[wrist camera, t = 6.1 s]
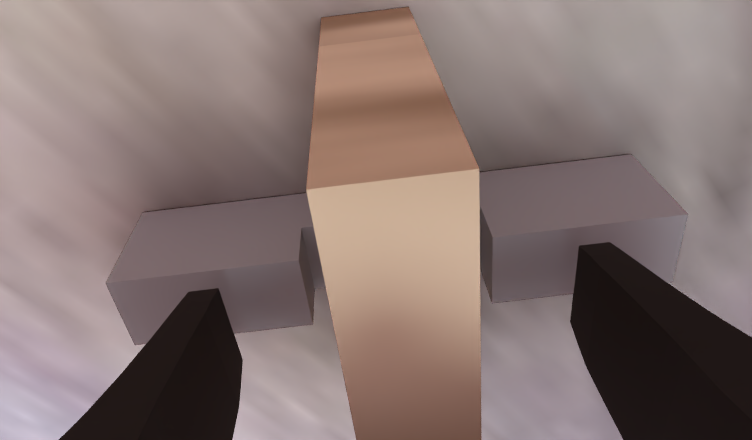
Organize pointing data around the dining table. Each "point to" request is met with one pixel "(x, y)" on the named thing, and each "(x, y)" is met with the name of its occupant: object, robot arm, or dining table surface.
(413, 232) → the beige slab block
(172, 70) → the dining table surface
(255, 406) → the dining table surface
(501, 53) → the dining table surface
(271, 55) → the dining table surface
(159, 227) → the slate rail
